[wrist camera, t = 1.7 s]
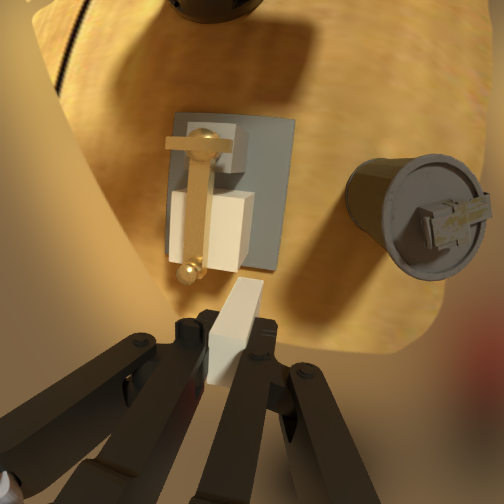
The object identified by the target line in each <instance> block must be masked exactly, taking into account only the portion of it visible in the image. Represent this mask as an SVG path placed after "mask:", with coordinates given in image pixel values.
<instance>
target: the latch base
mask: <svg viewBox="0 0 504 504" xmlns="http://www.w3.org/2000/svg"><path fill="white" fill-rule="evenodd" d="M294 127H295V120H293V119H285V118H276V117H266V116H255V115H242V114H224V113H192V112H175V117H174V126H173V135H172V136H173V137H187V136H188V134H189V133H190V132H192V131H193V130H195V129H198V128H206V129H209V130H211V131H214V132H216V133H217V134H219V135H220V137H221V138H222V139H231V140H233V149H232V154H231V153H222V154H221V155H220V157H219V158H218V159H216V166H215V176H214V187H213V188H218V189H228V190H237V191H246V192H254V193H255V197H254V206H253V215H252V224H251V233H250V242H249V251H248V254H247V256H246V258H245V259H244V261H243V263H242V265H241V266H247V267H254V268H261V269H268V270H274V271H276V269H277V262H278V255H279V248H280V240H281V233H282V226H283V218H284V210H285V203H286V195H287V187H288V179H289V171H290V162H291V154H292V145H293V136H294ZM189 164H190V158H189V157H188V156H187V154H186V152H185V150H171V155H170V166H169V179H168V194H167V211H166V235H165V254H169V238H170V215H171V197H172V191H176V190H180V189H185V188H187V187H188V175H189Z"/></svg>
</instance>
